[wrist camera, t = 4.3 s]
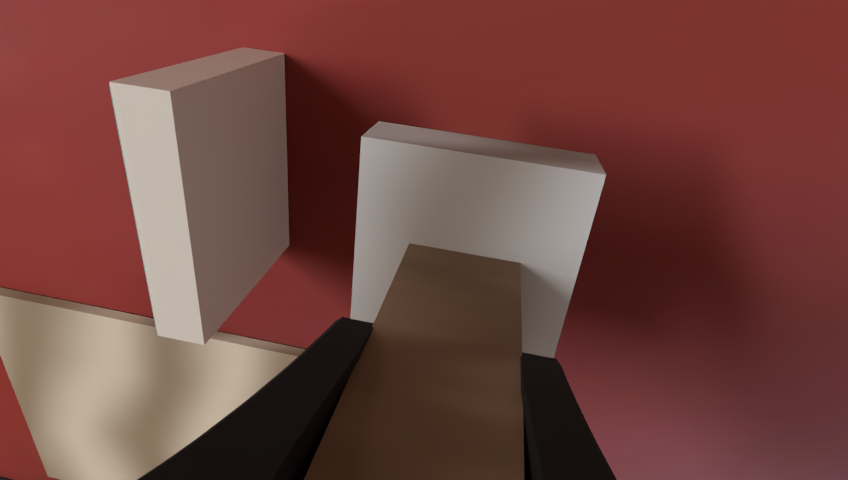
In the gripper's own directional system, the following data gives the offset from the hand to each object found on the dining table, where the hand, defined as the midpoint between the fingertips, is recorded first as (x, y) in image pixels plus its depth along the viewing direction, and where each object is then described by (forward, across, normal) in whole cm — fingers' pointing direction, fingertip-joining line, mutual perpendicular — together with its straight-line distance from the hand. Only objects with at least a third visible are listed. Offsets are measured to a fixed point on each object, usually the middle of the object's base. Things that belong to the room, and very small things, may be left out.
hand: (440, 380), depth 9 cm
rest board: (+9, +14, +15) cm, 22 cm away
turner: (+4, 0, 0) cm, 5 cm away
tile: (+9, +8, 0) cm, 12 cm away
